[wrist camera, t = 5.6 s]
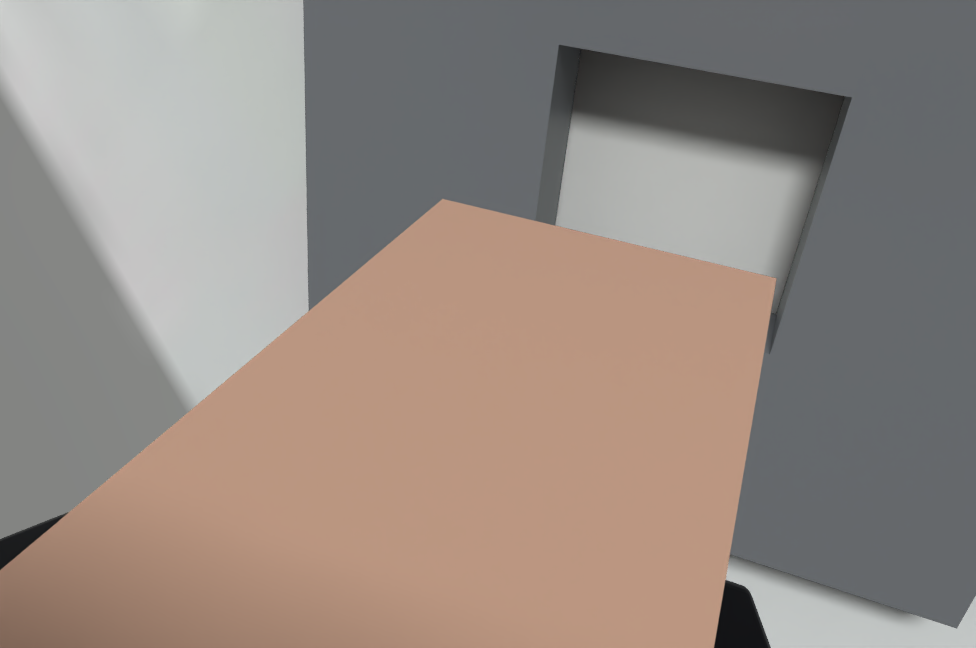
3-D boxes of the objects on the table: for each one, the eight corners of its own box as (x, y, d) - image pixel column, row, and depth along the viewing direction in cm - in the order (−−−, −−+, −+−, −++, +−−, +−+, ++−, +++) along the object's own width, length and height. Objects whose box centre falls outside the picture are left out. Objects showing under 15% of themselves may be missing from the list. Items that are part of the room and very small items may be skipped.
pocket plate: (1388, -250, 12) (1466, -266, 10) (948, 570, 20) (956, 628, 18) (349, -320, 16) (297, -339, 14) (343, 382, 24) (310, 417, 22)
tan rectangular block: (777, 278, 9) (600, 1304, 3) (696, 540, 11) (486, 1484, 5) (442, 198, 10) (-275, 799, 4) (424, 452, 12) (-58, 1128, 6)
